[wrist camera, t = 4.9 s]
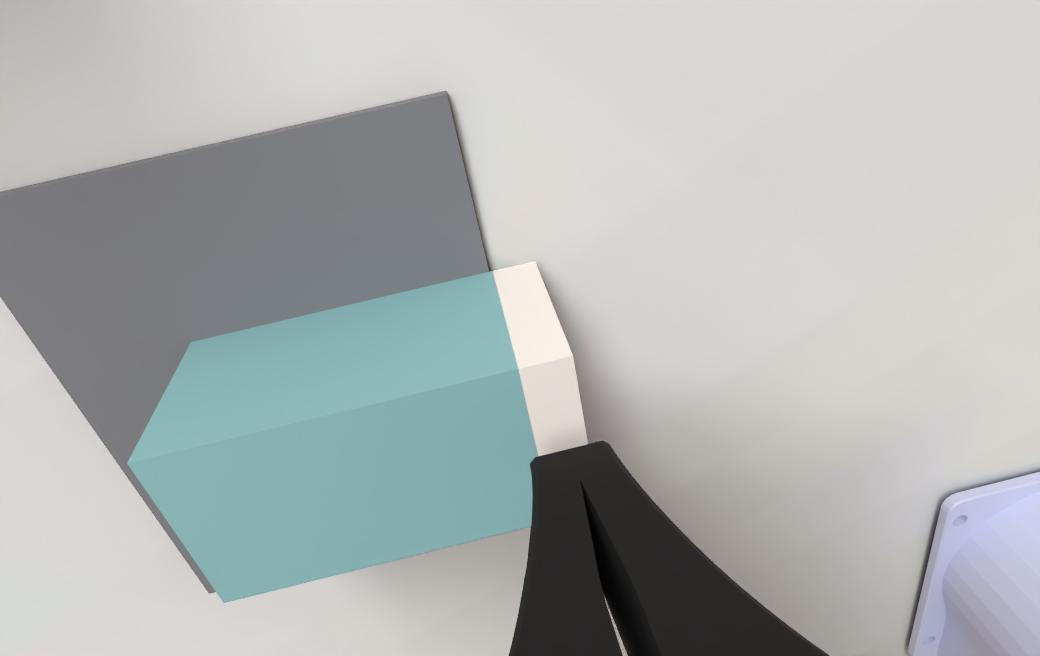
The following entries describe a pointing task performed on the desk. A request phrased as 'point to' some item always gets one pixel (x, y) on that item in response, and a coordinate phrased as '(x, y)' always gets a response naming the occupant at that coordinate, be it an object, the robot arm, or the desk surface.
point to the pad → (229, 250)
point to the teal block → (362, 431)
